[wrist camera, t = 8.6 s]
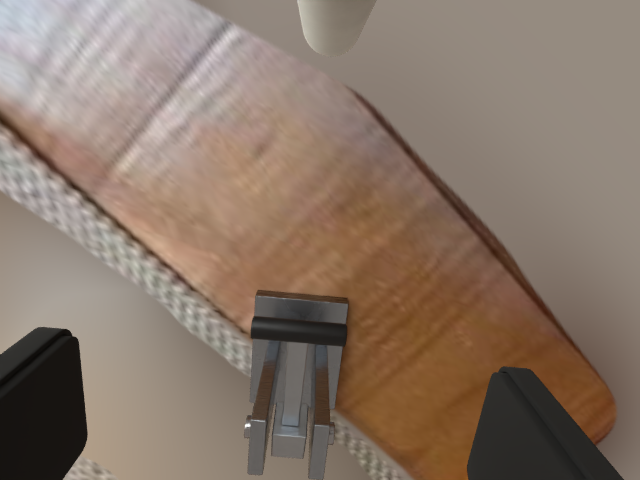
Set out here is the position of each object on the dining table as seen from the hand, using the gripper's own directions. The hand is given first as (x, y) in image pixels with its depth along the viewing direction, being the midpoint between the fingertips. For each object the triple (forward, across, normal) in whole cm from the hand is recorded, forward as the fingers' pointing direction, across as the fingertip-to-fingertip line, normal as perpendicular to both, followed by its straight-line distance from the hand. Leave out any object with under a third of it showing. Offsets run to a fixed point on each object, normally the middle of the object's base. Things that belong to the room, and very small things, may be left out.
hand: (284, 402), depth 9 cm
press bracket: (+24, 0, +14) cm, 28 cm away
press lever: (+14, 0, +9) cm, 17 cm away
